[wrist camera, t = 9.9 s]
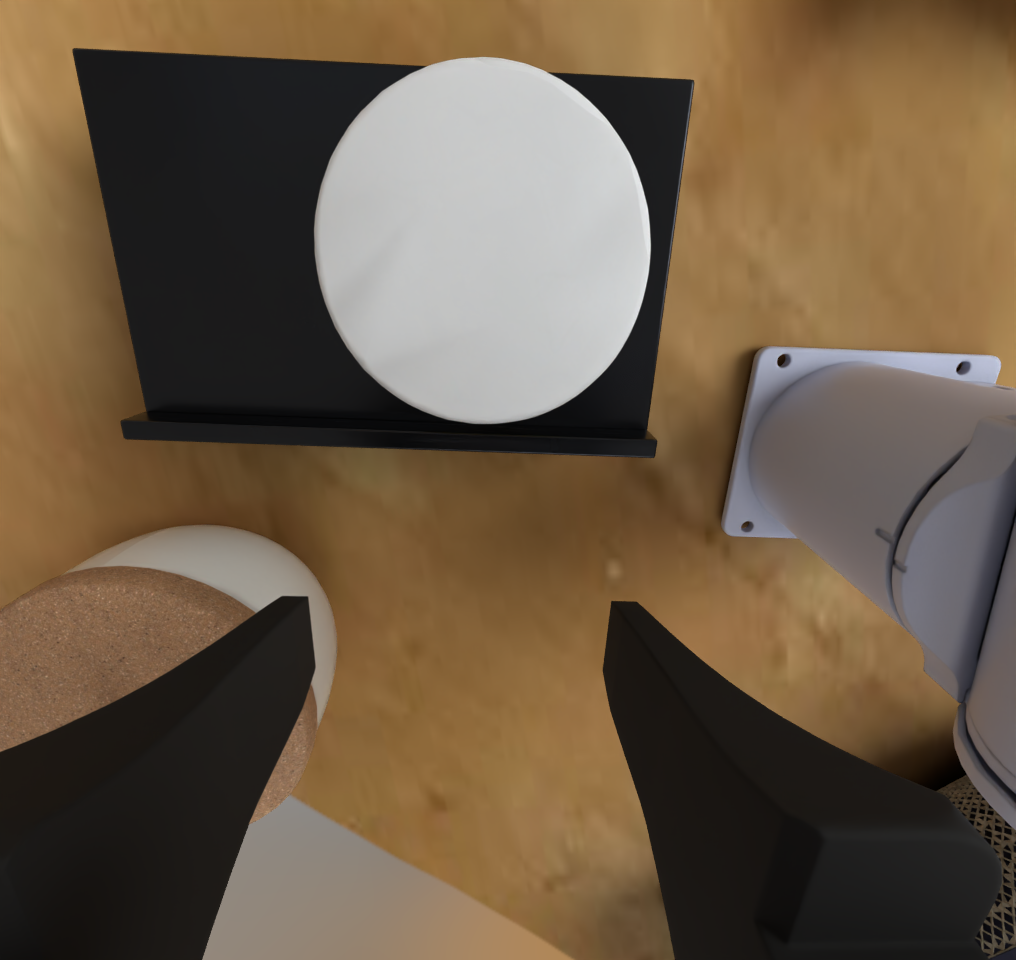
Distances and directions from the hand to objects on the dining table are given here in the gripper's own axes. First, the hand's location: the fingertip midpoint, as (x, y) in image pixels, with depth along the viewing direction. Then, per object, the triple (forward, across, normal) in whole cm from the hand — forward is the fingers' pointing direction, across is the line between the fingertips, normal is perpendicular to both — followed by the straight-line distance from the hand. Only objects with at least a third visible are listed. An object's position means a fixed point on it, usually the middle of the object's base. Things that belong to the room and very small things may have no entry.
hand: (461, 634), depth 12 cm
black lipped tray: (+10, +2, -8) cm, 13 cm away
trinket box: (+11, +10, +6) cm, 16 cm away
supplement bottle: (+6, -1, -8) cm, 10 cm away
